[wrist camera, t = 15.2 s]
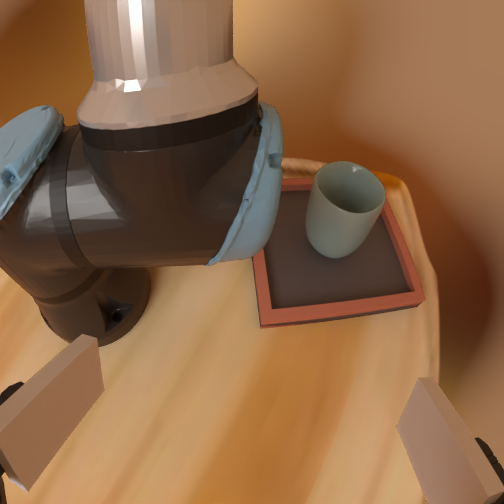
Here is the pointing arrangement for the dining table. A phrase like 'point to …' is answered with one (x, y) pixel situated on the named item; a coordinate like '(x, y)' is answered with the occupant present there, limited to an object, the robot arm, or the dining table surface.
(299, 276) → the tray
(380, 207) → the cup
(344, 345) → the dining table surface
